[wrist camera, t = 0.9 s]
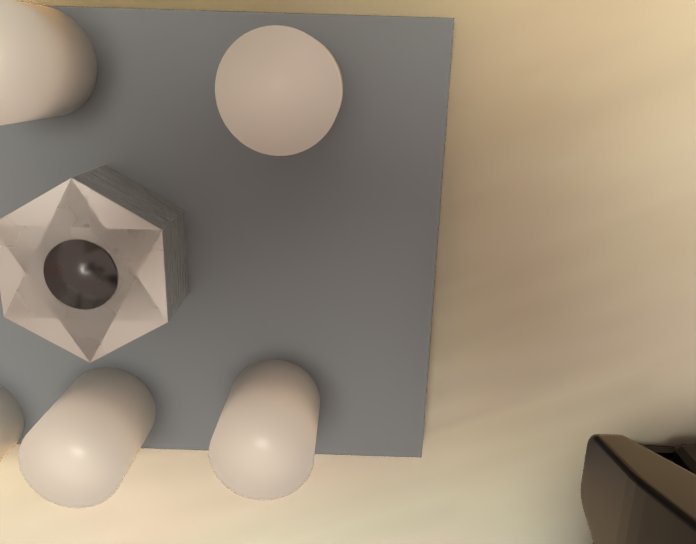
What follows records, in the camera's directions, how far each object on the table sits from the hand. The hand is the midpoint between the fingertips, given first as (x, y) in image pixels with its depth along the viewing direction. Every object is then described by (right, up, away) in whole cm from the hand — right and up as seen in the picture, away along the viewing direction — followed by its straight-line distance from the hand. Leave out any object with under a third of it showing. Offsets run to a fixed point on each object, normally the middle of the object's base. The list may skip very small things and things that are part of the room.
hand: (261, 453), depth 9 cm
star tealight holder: (-6, +3, +11) cm, 13 cm away
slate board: (-8, +4, +12) cm, 15 cm away
